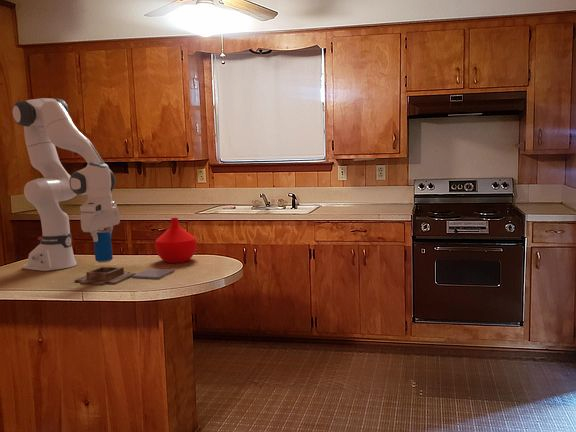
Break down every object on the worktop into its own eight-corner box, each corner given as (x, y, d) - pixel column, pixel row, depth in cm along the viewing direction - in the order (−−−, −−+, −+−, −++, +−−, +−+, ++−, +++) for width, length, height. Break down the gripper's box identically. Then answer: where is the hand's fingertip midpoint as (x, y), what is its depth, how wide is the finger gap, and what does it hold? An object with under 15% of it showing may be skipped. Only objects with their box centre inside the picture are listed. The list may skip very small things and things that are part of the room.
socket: (71, 283, 216) (70, 274, 215) (100, 272, 233) (99, 263, 232) (112, 285, 211) (111, 276, 210) (138, 273, 228) (137, 265, 227)
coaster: (132, 277, 222) (132, 275, 222) (148, 270, 233) (148, 268, 233) (159, 279, 218) (159, 277, 218) (174, 271, 229) (174, 269, 229)
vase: (148, 265, 243) (145, 221, 240) (166, 255, 261) (164, 215, 258) (188, 266, 239) (185, 221, 236) (204, 256, 257) (201, 215, 254)
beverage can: (97, 260, 224) (94, 230, 222) (114, 259, 225) (111, 229, 223) (94, 263, 218) (91, 233, 216) (111, 262, 219) (108, 232, 217)
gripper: (109, 200, 229) (111, 234, 231) (76, 207, 209) (79, 244, 212) (122, 201, 227) (124, 235, 229) (91, 208, 208) (93, 245, 210)
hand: (102, 239), depth 220 cm, fingers closed on beverage can, 6 cm apart
